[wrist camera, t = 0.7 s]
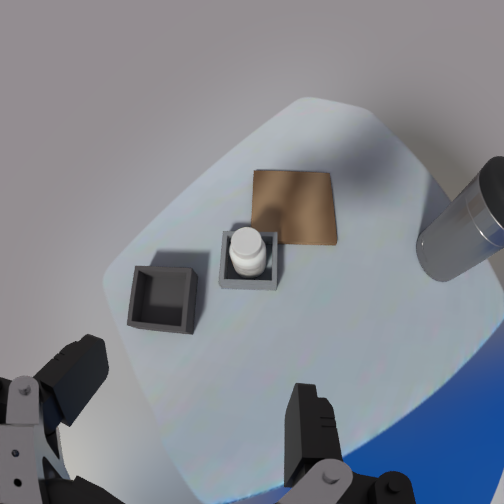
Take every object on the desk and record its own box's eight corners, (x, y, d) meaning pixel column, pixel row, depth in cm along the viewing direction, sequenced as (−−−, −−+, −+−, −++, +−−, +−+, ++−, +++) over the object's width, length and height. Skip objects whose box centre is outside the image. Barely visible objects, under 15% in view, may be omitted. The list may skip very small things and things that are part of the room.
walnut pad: (328, 176, 43) (329, 173, 42) (335, 245, 38) (337, 242, 38) (254, 174, 44) (253, 170, 43) (250, 243, 39) (250, 240, 38)
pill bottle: (242, 243, 39) (237, 217, 32) (271, 256, 38) (272, 231, 31) (228, 271, 38) (219, 249, 31) (257, 284, 37) (255, 265, 30)
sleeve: (276, 239, 39) (277, 232, 37) (276, 290, 37) (276, 285, 34) (225, 238, 40) (223, 231, 37) (221, 288, 37) (218, 283, 35)
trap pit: (197, 276, 38) (191, 268, 34) (192, 334, 35) (185, 331, 32) (145, 273, 38) (135, 265, 35) (138, 328, 35) (126, 325, 32)
